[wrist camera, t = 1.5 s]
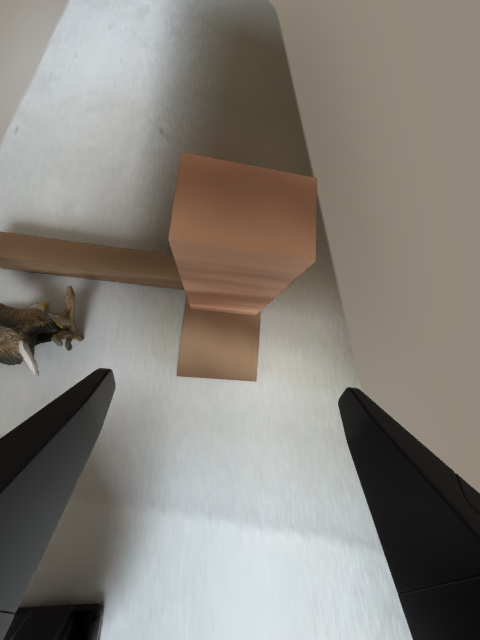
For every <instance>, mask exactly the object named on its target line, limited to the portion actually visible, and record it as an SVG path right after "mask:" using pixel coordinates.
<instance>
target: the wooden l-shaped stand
mask: <svg viewBox="0 0 480 640" xmlns="http://www.w3.org/2000/svg"><path fill="white" fill-rule="evenodd" d="M316 207H317V178H314V177H309V176H303V175H298V174H293V173H288V172H283V171H278V170H272V169H267V168H262V167H257V166H252V165H247V164H242V163H236V162H231V161H226V160H221V159H216V158H211V157H205V156H200V155H195V154H190V153H185V152H181V157H180V163H179V170H178V177H177V184H176V190H175V197H174V204H173V210H172V217H171V224H170V230H169V237H168V241H169V244H170V247H171V250H172V253H173V255H168V254H161V253H154V252H146V251H139V250H132V249H124V248H117V247H109V246H102V245H95V244H87V243H80V242H72V241H65V240H58V239H50V238H43V237H35V236H28V235H21V234H13V233H6V232H0V268H2V269H10V270H19V271H28V272H36V273H45V274H53V275H62V276H70V277H79V278H88V279H96V280H105V281H113V282H122V283H130V284H139V285H148V286H156V287H165V288H173V289H182V290H185V293H186V296H187V297H186V305H185V312H184V320H183V328H182V336H181V344H180V352H179V360H178V368H177V376H183V377H198V378H213V379H228V380H242V381H256V379H257V363H258V347H259V331H260V314H261V310H262V309H263V308H264V307H265V306H266V305H267V304H268V303H270V302H271V301H272V300H273V299H274V298H275V297H276V296H277V295H278V294H280V293H281V292H282V291H283V290H284V289H285V288H286V287H287V286H288V285H289V284H291V283H292V282H293V281H294V280H295V279H296V278H297V277H298V276H299V275H300V274H302V273H303V272H304V271H305V270H306V269H307V268H308V267H309V266H310V265H311V264H313V263H314V262H315V261H316Z"/></svg>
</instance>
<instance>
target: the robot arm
mask: <svg viewBox="0 0 480 640" xmlns="http://www.w3.org/2000/svg"><path fill="white" fill-rule="evenodd" d="M114 391H115V380H114V375H113V371H112V370H111V369H105V368H99V369H97V370H95V371H94V372H92V373H91V374H90V375H88V376H87V377H86V378H84V379H83V380H81V381H80V382H79V383H77V384H76V385H74V386H73V387H72V388H70V389H69V390H67V391H66V392H65V393H63V394H62V395H60V396H59V397H58V398H56V399H55V400H53V401H52V402H51V403H49V404H48V405H47V406H45V407H44V408H42V409H41V410H40V411H38V412H37V413H35V414H34V415H33V416H31V417H30V418H28V419H27V420H26V421H24V422H23V423H21V424H20V425H19V426H17V427H16V428H14V429H13V430H12V431H10V432H9V433H7V434H6V435H5V436H3V437H2V438H1V439H0V640H99V635H100V628H101V622H102V615H103V607H102V605H100V604H83V605H66V606H48V607H31V608H18V606H19V604H20V602H21V600H22V598H23V596H24V594H25V592H26V589H27V587H28V585H29V583H30V581H31V579H32V577H33V575H34V572H35V570H36V568H37V566H38V564H39V562H40V560H41V557H42V555H43V553H44V551H45V549H46V547H47V545H48V543H49V540H50V538H51V536H52V534H53V532H54V530H55V528H56V526H57V523H58V521H59V519H60V517H61V515H62V513H63V511H64V509H65V506H66V504H67V502H68V500H69V498H70V496H71V494H72V491H73V489H74V487H75V485H76V483H77V481H78V479H79V477H80V474H81V472H82V470H83V468H84V466H85V464H86V462H87V460H88V457H89V455H90V453H91V451H92V449H93V447H94V445H95V443H96V440H97V438H98V436H99V434H100V431H101V428H102V426H103V423H104V420H105V417H106V414H107V411H108V408H109V405H110V402H111V400H112V397H113V394H114ZM338 406H339V410H340V414H341V419H342V423H343V427H344V432H345V436H346V440H347V443H348V447H349V450H350V453H351V456H352V459H353V462H354V465H355V468H356V471H357V474H358V477H359V480H360V483H361V486H362V489H363V492H364V495H365V498H366V501H367V504H368V506H369V509H370V512H371V515H372V518H373V521H374V524H375V527H376V530H377V533H378V536H379V539H380V542H381V545H382V548H383V551H384V554H385V557H386V560H387V563H388V566H389V569H390V572H391V575H392V578H393V581H394V584H395V587H396V590H397V592H398V596H399V599H400V602H401V605H402V608H403V611H404V614H405V617H406V620H407V623H408V626H409V629H410V632H411V635H412V638H413V640H480V493H479V492H477V491H476V490H475V489H474V488H473V487H471V486H470V485H469V484H468V483H467V482H466V481H464V480H463V479H462V478H461V477H460V476H459V475H458V474H455V473H454V471H453V470H452V469H450V468H449V467H448V466H447V465H446V464H445V463H444V462H443V461H441V460H440V459H439V458H438V457H437V456H435V455H434V454H433V453H432V452H431V451H430V450H429V449H428V448H426V447H425V446H424V445H423V444H422V443H420V442H419V441H418V440H417V439H416V438H415V437H414V436H413V435H411V434H410V433H409V432H408V431H407V430H405V429H404V428H403V427H402V426H401V425H400V424H399V423H397V422H396V421H395V420H394V419H393V418H392V417H391V416H389V415H388V414H387V413H386V412H385V411H384V410H383V409H381V408H380V407H379V406H378V405H377V404H376V403H375V402H373V401H372V400H371V399H370V398H369V397H368V396H366V395H365V394H364V393H363V392H362V391H361V390H359V389H358V388H351V387H348V388H346V389H345V391H344V392H343V394H342V395H341V397H340V398H339V401H338ZM92 614H96V615H97V616H93V615H92Z"/></svg>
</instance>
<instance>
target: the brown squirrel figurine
mask: <svg viewBox="0 0 480 640" xmlns="http://www.w3.org/2000/svg"><path fill="white" fill-rule="evenodd" d="M48 304H49V303H48V302H45V303H38V302H36V303H34V304H33V305H32V306H30V307H29V308H28V309H23V310H18V309H14V308H11V307H7V306H5V305H3V304H1V303H0V363H3V364H7V365H15V364H21V362H23V360H22V358H24V359H25V361H26V362H27V364H28V366H29V367H30V369H31V370H32V372H33V373H34V375H36V376H39V371H38V367H37V363H36V361H35V359H34V346H35V345H37V344H40V343H45V342H50V341H54V342H55V343H56V344H57V345H58V346H62V345H63V343H62V341H61V339H65V338H66V343H65V347H66V349H67V350H68V351H70V350H71V349H72V345H71V341H72V339H77V340H78V341H82V340H83V337H81V336H80V335H79V334H78V330H76V326H75V322H74V291H73V289H72V287H71V286H69V287H68V288H67V294H66V302H65V305H66V309H65V310H64V312H63V313H59V314H53V313H49V316H50V317H51V318H52V319H50V320H48V321H44V311H45V307H46V306H47V305H48Z"/></svg>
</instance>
